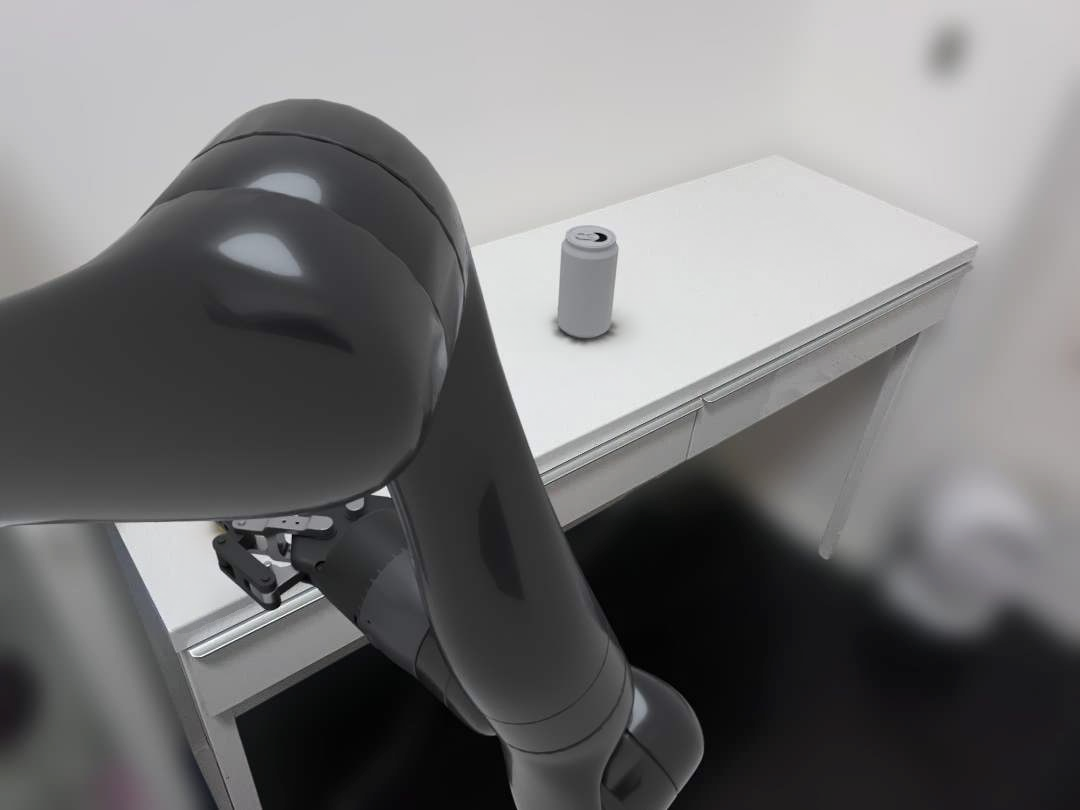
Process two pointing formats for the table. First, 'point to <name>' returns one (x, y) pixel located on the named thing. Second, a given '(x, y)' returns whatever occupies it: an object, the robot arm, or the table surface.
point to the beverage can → (587, 281)
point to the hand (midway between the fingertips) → (269, 470)
